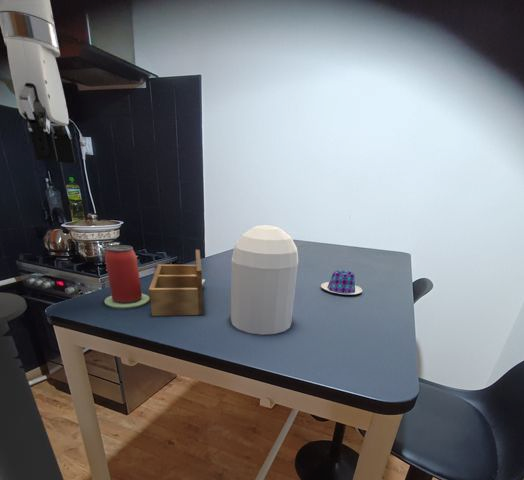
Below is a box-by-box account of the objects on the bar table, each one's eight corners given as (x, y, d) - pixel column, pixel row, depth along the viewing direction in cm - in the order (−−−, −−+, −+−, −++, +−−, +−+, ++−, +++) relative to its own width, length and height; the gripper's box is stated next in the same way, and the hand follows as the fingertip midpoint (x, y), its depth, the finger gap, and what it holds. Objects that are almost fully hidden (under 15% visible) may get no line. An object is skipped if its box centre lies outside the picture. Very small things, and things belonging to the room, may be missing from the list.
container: (299, 317, 73) (310, 225, 64) (280, 340, 62) (290, 233, 53) (246, 306, 77) (249, 218, 68) (219, 326, 66) (218, 224, 57)
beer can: (147, 299, 76) (141, 247, 71) (123, 306, 72) (114, 252, 66) (130, 292, 80) (123, 243, 74) (106, 299, 75) (96, 247, 69)
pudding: (358, 285, 98) (361, 268, 96) (365, 298, 88) (369, 280, 85) (319, 282, 99) (321, 265, 96) (321, 294, 88) (324, 276, 86)
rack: (151, 316, 69) (146, 270, 64) (160, 286, 87) (156, 248, 82) (203, 314, 71) (201, 270, 66) (200, 286, 89) (199, 249, 84)
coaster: (100, 309, 71) (99, 307, 70) (109, 294, 79) (109, 292, 79) (147, 308, 73) (146, 306, 72) (151, 294, 81) (151, 292, 81)
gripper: (28, 52, 57) (53, 161, 66) (-28, 10, 43) (12, 158, 51) (73, 58, 59) (92, 164, 67) (34, 19, 44) (64, 161, 52)
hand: (57, 161), depth 59 cm, fingers open, 9 cm apart
